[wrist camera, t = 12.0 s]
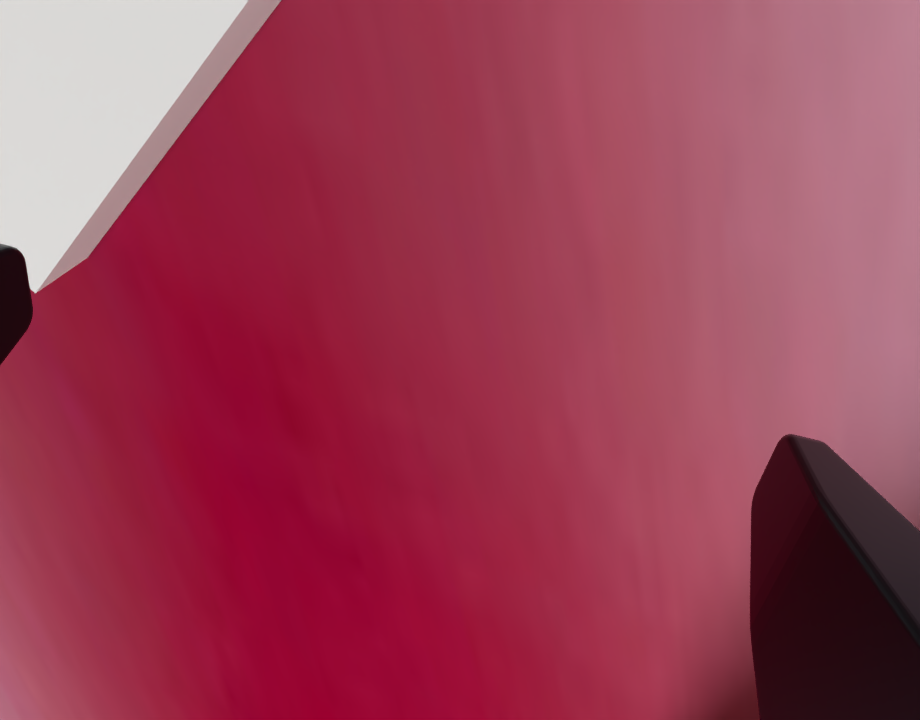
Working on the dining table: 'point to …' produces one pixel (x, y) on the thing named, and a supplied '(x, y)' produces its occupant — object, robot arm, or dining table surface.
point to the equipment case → (99, 109)
